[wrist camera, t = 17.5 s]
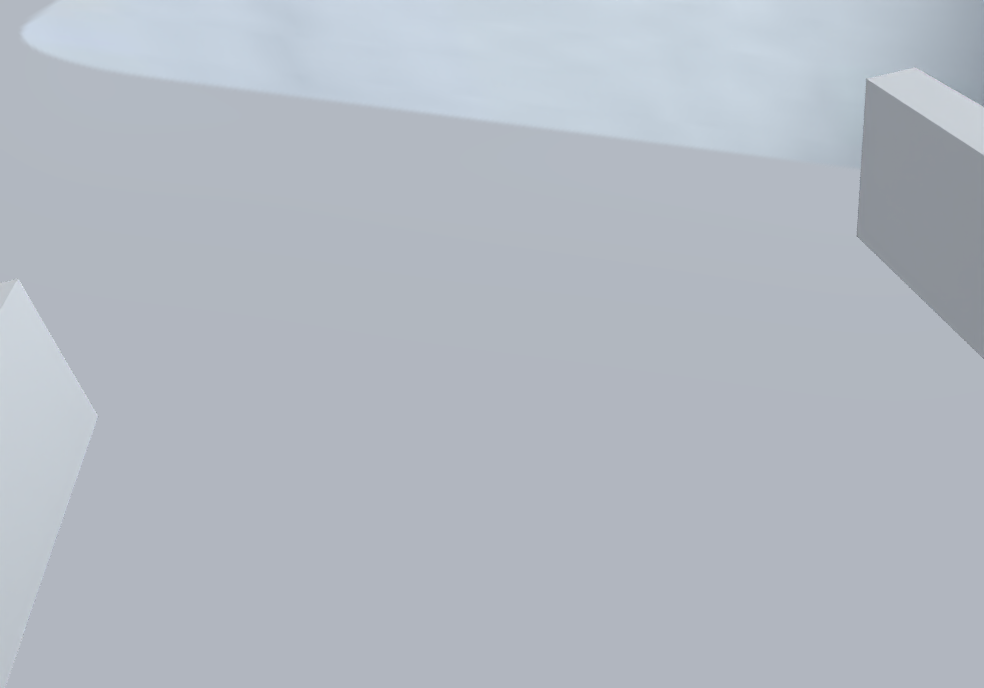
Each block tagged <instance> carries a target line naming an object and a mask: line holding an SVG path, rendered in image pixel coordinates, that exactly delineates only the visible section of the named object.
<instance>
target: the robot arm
mask: <svg viewBox="0 0 984 688" xmlns="http://www.w3.org/2000/svg"><path fill="white" fill-rule="evenodd" d="M857 237H858V238H859V239H860V240H861V241H862V242H863V243H865V245H867V246H868V247H869V248H870V249H871V250H872V251H873V252H874V253H875V254H876V255H877V256H878V257H879V258H880V259H881V260H882V261H883V262H884V263H885V264H886V265H887V266H888V267H889V268H890V269H891V270H892V271H893V272H894V273H895V274H897V275H898V276H899V277H900V278H901V279H902V280H903V281H904V282H905V283H906V284H907V285H908V286H909V287H910V288H911V289H912V290H913V291H914V292H915V293H916V294H917V295H918V296H919V297H920V298H921V299H922V300H923V301H925V302H926V303H927V304H928V305H929V306H930V307H931V308H932V309H933V310H934V311H935V312H936V313H937V314H938V315H939V316H940V317H941V318H942V319H943V320H944V321H945V322H946V323H948V325H949V326H950V327H951V328H952V329H953V330H954V331H955V332H957V333H958V334H959V335H960V336H961V337H962V338H963V339H964V340H965V341H966V342H967V343H968V344H969V345H970V346H971V347H972V348H973V349H974V350H975V351H976V352H977V353H978V354H979V355H980V356H981V357H982V358H984V107H983V106H982V105H980V104H978V103H976V102H975V101H973V100H971V99H969V98H968V97H966V96H964V95H963V94H961V93H959V92H957V91H956V90H954V89H952V88H950V87H949V86H947V85H945V84H944V83H942V82H940V81H938V80H937V79H935V78H933V77H931V76H930V75H928V74H926V73H925V72H923V71H921V70H919V69H918V68H916V67H914V68H909V69H905V70H901V71H897V72H892V73H888V74H884V75H880V76H875V77H871V78H867V79H866V94H865V110H864V126H863V142H862V159H861V177H860V193H859V208H858V224H857ZM97 419H98V415H97V414H96V412H95V410H94V408H93V407H92V405H91V403H90V402H89V400H88V398H87V397H86V395H85V393H84V391H83V390H82V388H81V386H80V384H79V383H78V381H77V379H76V377H75V376H74V374H73V372H72V371H71V369H70V367H69V365H68V364H67V362H66V360H65V359H64V357H63V355H62V353H61V352H60V350H59V349H58V347H57V345H56V343H55V341H54V340H53V338H52V336H51V334H50V333H49V331H48V329H47V328H46V326H45V324H44V322H43V321H42V319H41V317H40V315H39V314H38V312H37V310H36V309H35V307H34V305H33V303H32V302H31V300H30V298H29V297H28V295H27V293H26V291H25V290H24V288H23V287H22V285H21V283H20V281H19V279H14V280H9V281H5V282H1V283H0V688H5V687H6V684H7V681H8V678H9V675H10V672H11V669H12V666H13V664H14V661H15V658H16V655H17V652H18V649H19V646H20V643H21V640H22V637H23V635H24V632H25V629H26V625H27V623H28V620H29V617H30V614H31V611H32V608H33V605H34V602H35V599H36V597H37V594H38V590H39V588H40V585H41V582H42V579H43V576H44V573H45V570H46V567H47V564H48V561H49V558H50V556H51V553H52V550H53V547H54V544H55V541H56V538H57V535H58V532H59V530H60V527H61V523H62V521H63V518H64V515H65V512H66V509H67V506H68V503H69V500H70V497H71V495H72V491H73V489H74V486H75V483H76V480H77V477H78V474H79V471H80V468H81V465H82V462H83V460H84V457H85V453H86V451H87V448H88V445H89V442H90V439H91V436H92V433H93V430H94V428H95V424H96V422H97Z"/></svg>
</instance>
